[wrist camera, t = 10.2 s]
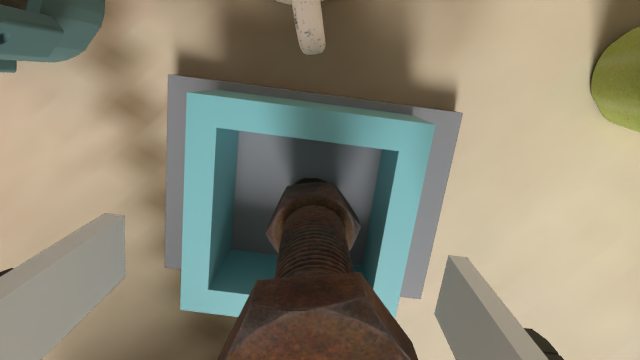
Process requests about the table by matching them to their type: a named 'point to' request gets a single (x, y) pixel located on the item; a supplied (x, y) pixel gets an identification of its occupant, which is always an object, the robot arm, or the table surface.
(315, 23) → the teacup with lid
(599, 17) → the table surface
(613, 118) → the plant pot
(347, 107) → the socket
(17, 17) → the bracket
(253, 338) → the bolt
